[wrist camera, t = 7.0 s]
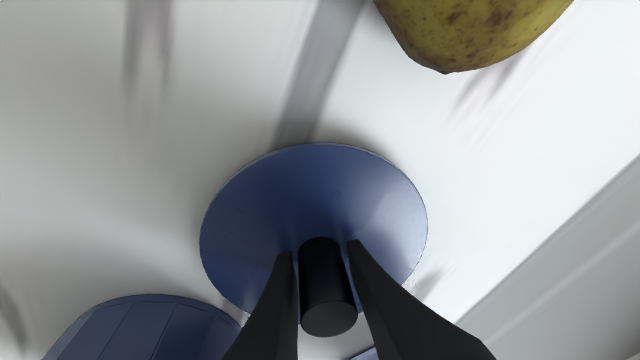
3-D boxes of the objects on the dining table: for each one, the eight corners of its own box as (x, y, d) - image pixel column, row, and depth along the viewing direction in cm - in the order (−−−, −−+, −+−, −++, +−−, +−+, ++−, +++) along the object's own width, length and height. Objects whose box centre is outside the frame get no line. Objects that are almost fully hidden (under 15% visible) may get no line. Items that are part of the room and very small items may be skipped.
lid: (459, 210, 14) (534, 274, 10) (336, 327, 18) (351, 411, 14) (282, 83, 10) (275, 99, 6) (169, 271, 14) (114, 367, 9)
